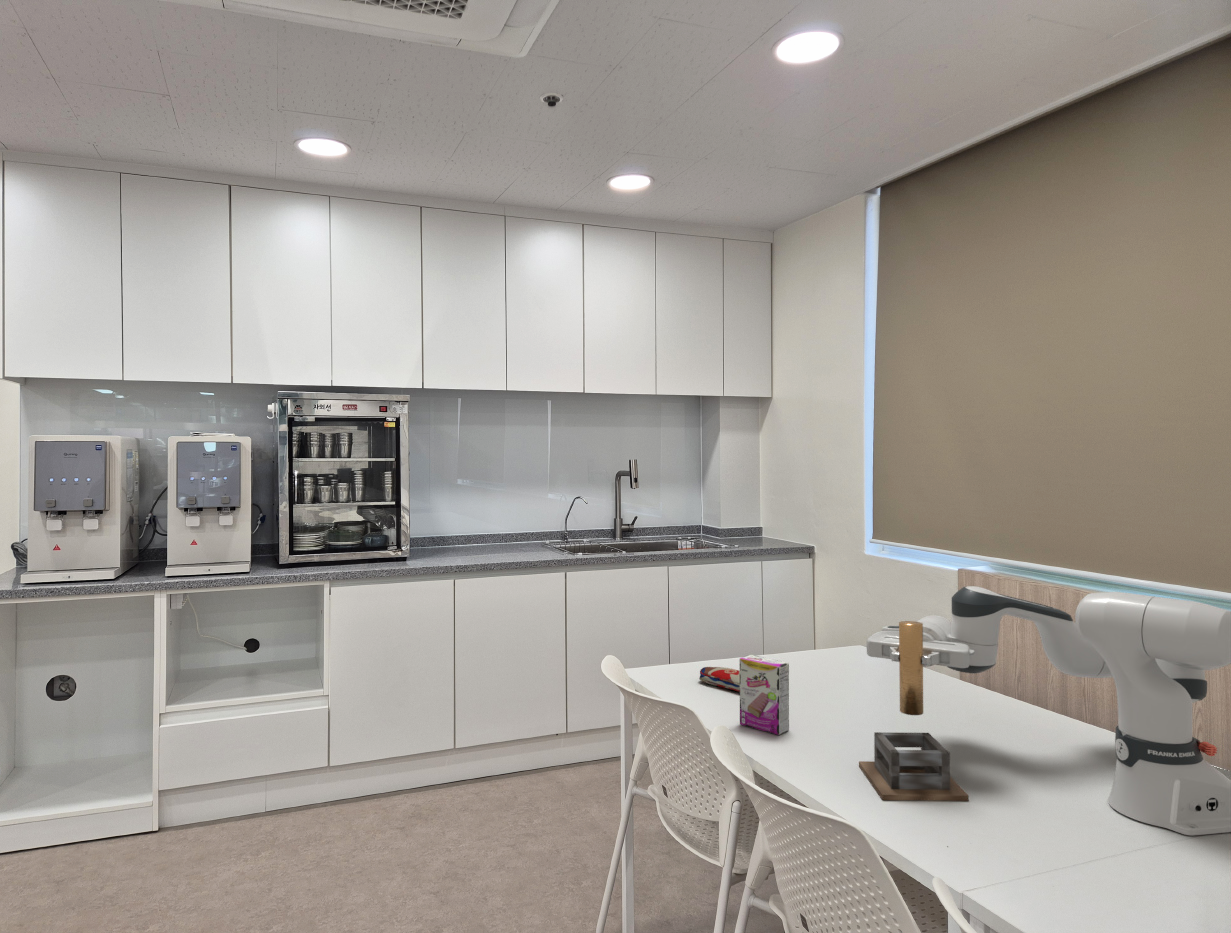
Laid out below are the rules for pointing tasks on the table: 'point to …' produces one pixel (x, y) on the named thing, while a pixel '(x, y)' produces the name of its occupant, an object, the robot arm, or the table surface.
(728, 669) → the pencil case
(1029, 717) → the table surface
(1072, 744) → the table surface
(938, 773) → the collar stand
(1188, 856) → the table surface
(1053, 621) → the robot arm
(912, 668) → the copper tube
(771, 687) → the candy bar box
